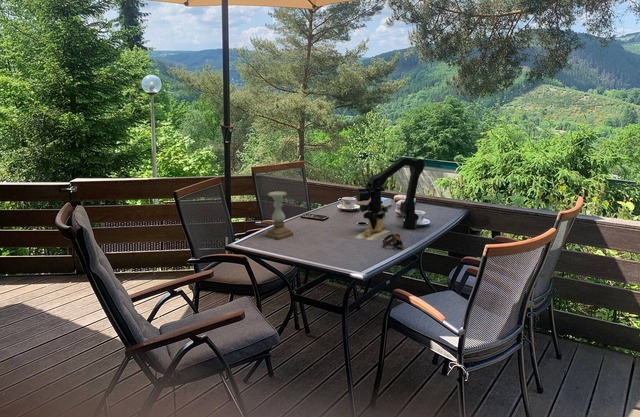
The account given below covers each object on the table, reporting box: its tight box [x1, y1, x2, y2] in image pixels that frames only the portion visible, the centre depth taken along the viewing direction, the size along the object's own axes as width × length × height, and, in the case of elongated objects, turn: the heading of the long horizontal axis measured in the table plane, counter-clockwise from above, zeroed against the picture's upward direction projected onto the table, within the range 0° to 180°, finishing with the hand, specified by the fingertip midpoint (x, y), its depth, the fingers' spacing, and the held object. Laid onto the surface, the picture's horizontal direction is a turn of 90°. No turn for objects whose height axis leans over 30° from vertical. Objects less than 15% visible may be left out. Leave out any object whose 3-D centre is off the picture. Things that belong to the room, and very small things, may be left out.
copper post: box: [364, 228, 370, 237], centre depth 254 cm, size 3×3×4 cm
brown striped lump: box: [381, 233, 405, 251], centre depth 238 cm, size 12×10×8 cm
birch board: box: [352, 227, 391, 242], centre depth 258 cm, size 13×20×1 cm, turn 149°
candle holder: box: [265, 190, 294, 241], centre depth 260 cm, size 11×11×24 cm
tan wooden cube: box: [368, 218, 384, 231], centre depth 262 cm, size 5×5×6 cm
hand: (375, 227), depth 262 cm, fingers closed on tan wooden cube, 5 cm apart
